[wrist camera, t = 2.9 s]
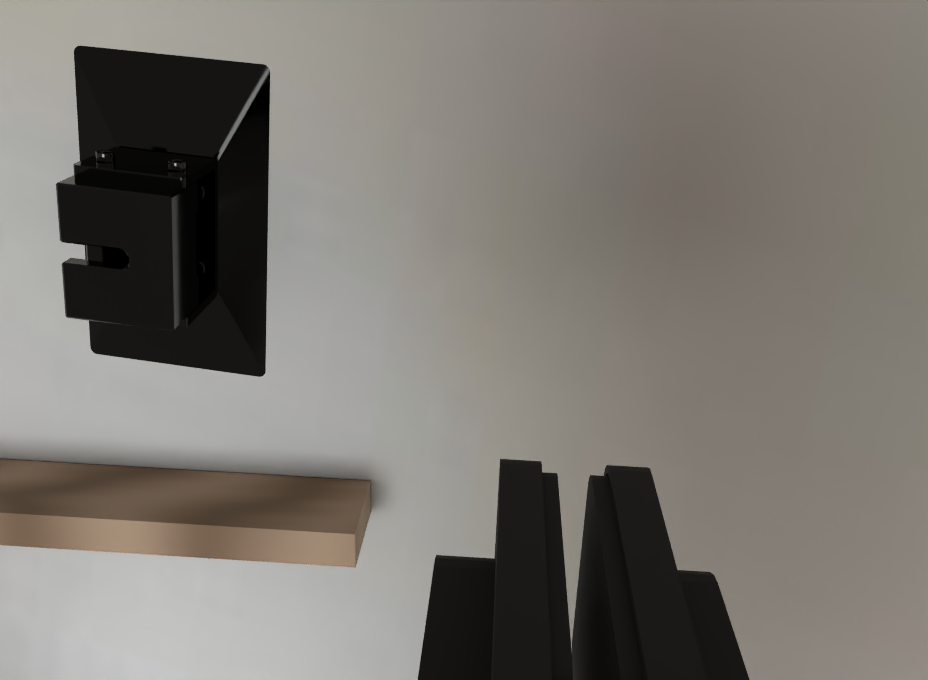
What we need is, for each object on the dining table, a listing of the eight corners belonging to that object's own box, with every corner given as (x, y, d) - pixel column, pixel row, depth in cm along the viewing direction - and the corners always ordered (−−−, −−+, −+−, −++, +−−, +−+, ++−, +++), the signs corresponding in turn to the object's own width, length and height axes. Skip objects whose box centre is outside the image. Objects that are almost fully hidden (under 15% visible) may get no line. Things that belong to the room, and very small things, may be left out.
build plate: (52, -21, 24) (-49, -24, 20) (315, 10, 24) (270, 14, 20) (78, 384, 29) (0, 454, 24) (297, 412, 29) (258, 486, 24)
